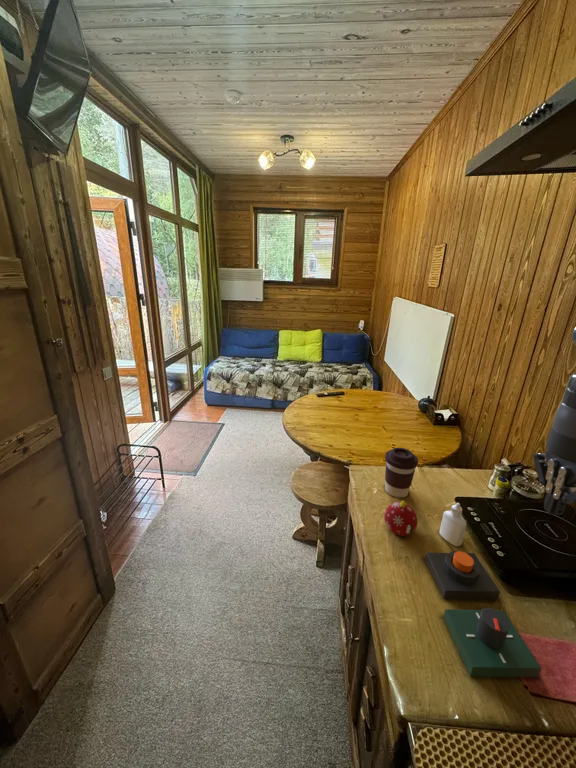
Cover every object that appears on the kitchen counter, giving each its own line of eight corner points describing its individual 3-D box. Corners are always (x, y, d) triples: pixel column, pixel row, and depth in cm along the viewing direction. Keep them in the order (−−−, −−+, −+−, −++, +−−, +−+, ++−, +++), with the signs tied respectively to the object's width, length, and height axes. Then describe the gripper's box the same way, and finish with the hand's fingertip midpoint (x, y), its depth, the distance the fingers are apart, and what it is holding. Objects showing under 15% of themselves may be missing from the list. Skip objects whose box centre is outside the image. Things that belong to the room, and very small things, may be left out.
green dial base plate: (500, 620, 64) (503, 609, 63) (537, 679, 54) (542, 667, 53) (442, 619, 64) (445, 608, 63) (469, 678, 54) (473, 666, 53)
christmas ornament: (405, 518, 91) (410, 490, 88) (421, 541, 83) (426, 511, 80) (378, 520, 90) (381, 492, 87) (390, 544, 82) (395, 513, 79)
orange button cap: (466, 558, 73) (467, 551, 72) (475, 573, 69) (477, 566, 68) (449, 557, 73) (450, 551, 72) (458, 573, 69) (459, 566, 68)
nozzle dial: (474, 620, 61) (479, 602, 59) (500, 629, 59) (506, 611, 58) (478, 643, 57) (484, 625, 55) (506, 653, 55) (512, 635, 54)
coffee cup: (375, 491, 103) (380, 452, 98) (389, 479, 109) (395, 441, 105) (403, 506, 96) (410, 465, 91) (417, 492, 103) (424, 453, 98)
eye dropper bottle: (447, 548, 81) (455, 511, 77) (437, 531, 86) (444, 496, 83) (463, 548, 81) (472, 511, 77) (452, 532, 86) (460, 496, 83)
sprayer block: (471, 562, 77) (475, 546, 75) (497, 601, 68) (502, 584, 66) (424, 561, 77) (427, 545, 75) (443, 600, 67) (447, 583, 66)
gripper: (643, 450, 47) (604, 540, 52) (568, 415, 60) (543, 490, 65) (594, 450, 47) (561, 539, 52) (530, 414, 60) (508, 489, 65)
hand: (551, 512), depth 59 cm, fingers closed
